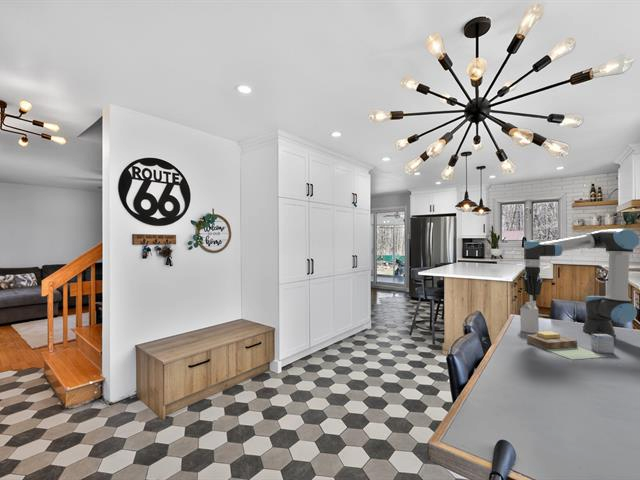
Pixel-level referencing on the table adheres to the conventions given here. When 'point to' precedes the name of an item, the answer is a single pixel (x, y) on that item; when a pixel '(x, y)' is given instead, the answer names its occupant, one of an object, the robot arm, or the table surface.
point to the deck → (552, 342)
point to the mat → (576, 353)
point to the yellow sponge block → (548, 334)
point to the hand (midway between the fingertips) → (532, 305)
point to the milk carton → (529, 318)
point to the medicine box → (602, 343)
